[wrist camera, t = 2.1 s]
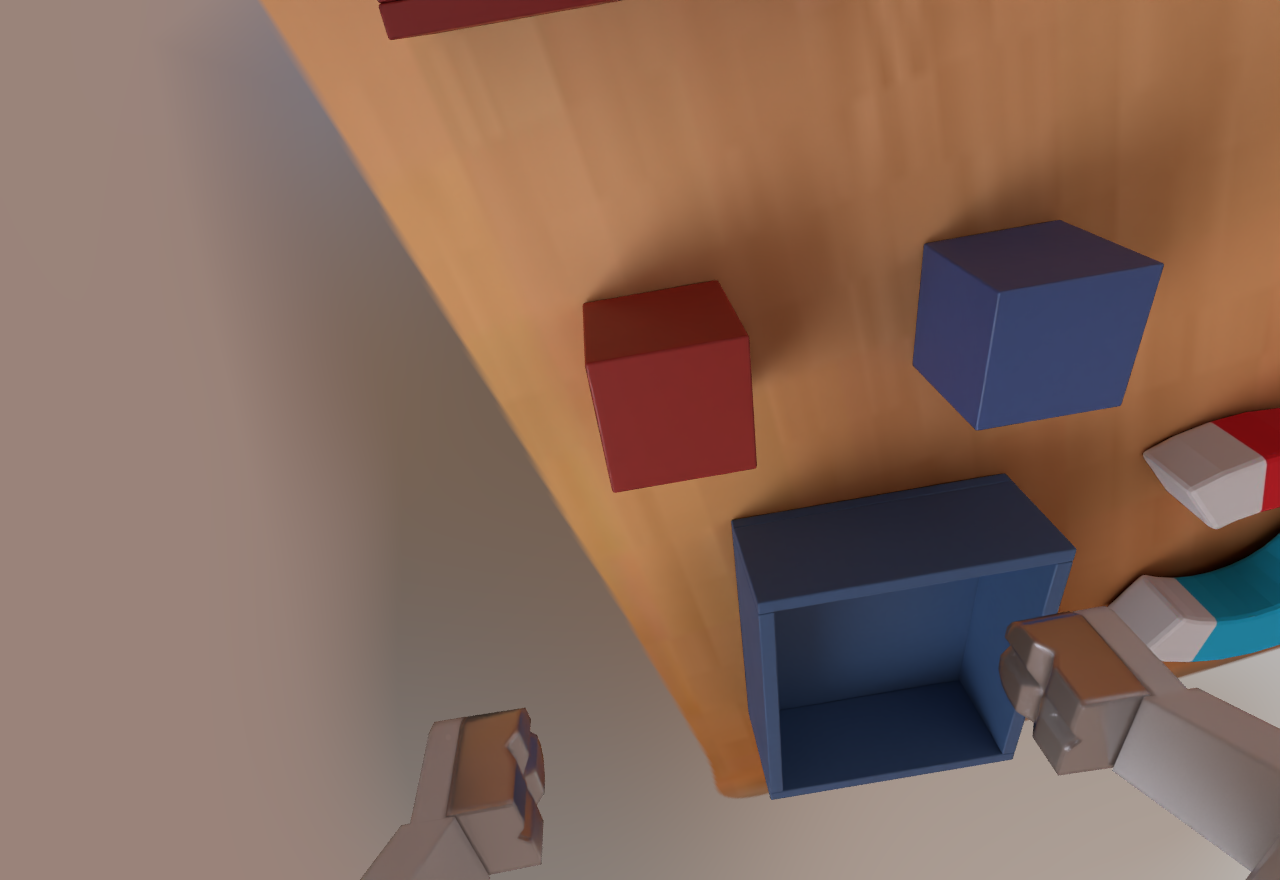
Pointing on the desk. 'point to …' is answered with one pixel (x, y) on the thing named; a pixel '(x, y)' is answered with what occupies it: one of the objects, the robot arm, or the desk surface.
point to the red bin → (463, 13)
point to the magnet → (1217, 494)
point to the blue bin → (890, 629)
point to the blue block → (1031, 322)
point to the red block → (670, 385)
